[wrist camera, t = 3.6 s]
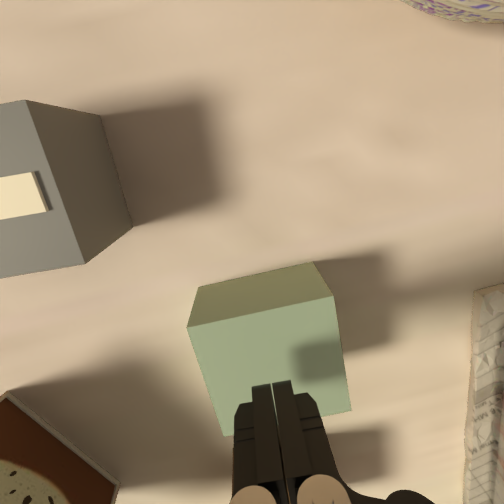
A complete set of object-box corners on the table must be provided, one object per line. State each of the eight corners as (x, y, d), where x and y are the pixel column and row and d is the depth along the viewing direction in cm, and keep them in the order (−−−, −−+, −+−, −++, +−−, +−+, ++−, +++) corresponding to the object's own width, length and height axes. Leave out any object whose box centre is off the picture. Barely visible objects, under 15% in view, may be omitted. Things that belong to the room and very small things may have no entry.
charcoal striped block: (-13, 135, 14) (-153, 130, 9) (100, 115, 14) (21, 98, 9) (32, 244, 15) (-65, 291, 10) (133, 226, 15) (83, 265, 10)
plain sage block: (198, 285, 16) (186, 327, 13) (311, 260, 16) (333, 295, 12) (227, 376, 18) (223, 436, 15) (328, 355, 18) (351, 410, 14)
